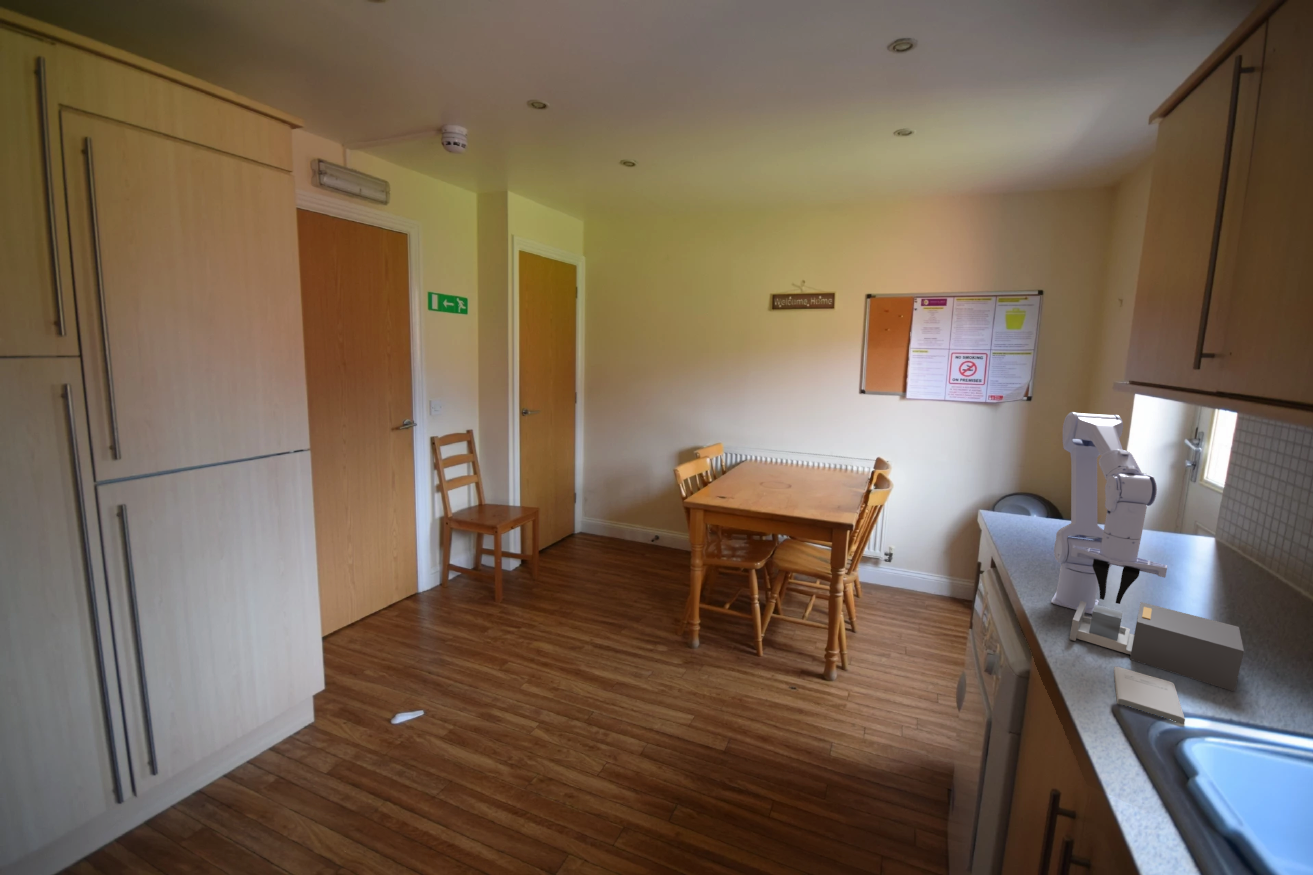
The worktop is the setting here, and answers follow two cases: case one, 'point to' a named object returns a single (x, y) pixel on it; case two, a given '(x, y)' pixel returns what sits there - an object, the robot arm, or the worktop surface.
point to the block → (1105, 622)
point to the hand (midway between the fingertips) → (1110, 599)
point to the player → (1188, 645)
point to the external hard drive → (1148, 694)
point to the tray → (1082, 632)
